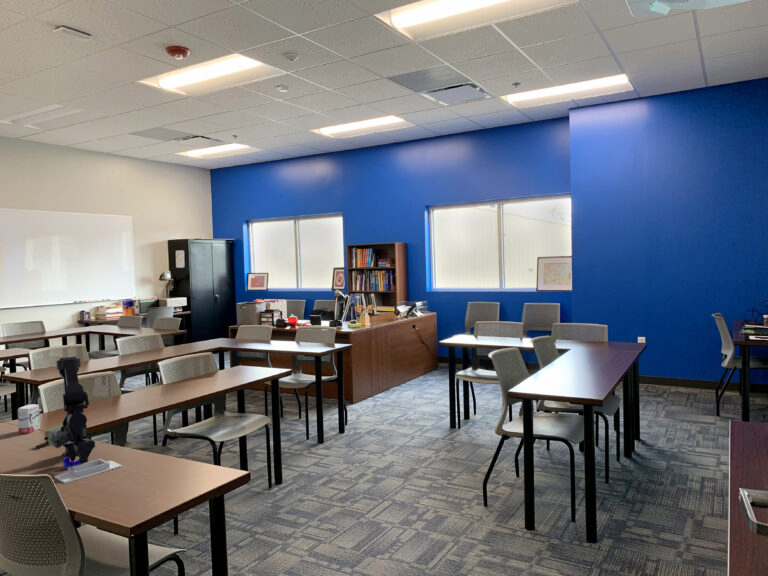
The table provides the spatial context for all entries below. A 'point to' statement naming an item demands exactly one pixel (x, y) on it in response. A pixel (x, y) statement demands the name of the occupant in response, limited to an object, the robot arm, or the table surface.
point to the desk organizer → (87, 470)
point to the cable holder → (70, 463)
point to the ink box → (28, 418)
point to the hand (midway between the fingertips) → (77, 463)
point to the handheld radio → (50, 435)
